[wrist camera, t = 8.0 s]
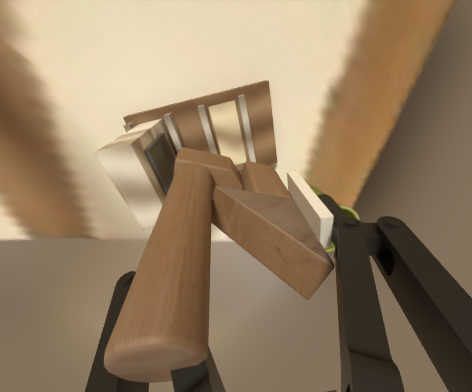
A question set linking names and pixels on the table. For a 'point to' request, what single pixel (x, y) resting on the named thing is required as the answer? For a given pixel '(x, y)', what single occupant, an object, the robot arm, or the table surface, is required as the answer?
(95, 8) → the table surface
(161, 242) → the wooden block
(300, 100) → the table surface
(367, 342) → the robot arm
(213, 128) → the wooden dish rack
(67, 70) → the table surface
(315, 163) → the table surface
